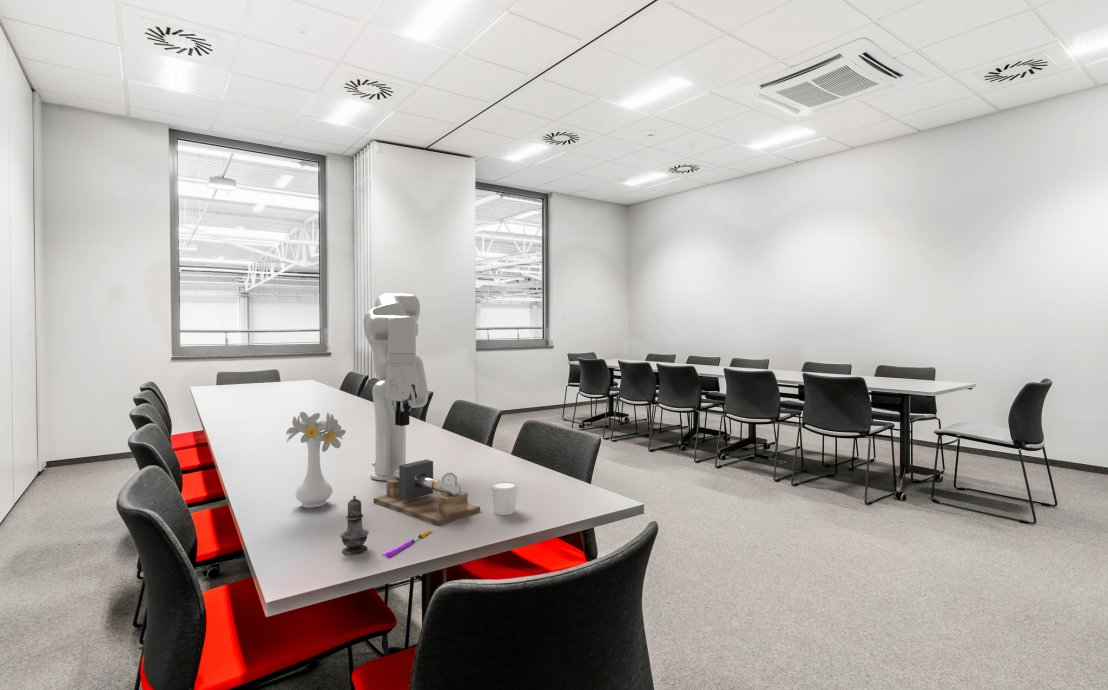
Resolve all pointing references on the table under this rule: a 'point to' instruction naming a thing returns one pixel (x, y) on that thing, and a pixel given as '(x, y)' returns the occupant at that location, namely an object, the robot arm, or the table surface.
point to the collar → (408, 479)
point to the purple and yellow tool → (405, 545)
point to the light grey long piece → (449, 480)
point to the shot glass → (504, 497)
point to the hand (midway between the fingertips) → (402, 424)
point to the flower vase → (315, 456)
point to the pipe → (434, 484)
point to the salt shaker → (354, 530)
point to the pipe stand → (428, 505)
